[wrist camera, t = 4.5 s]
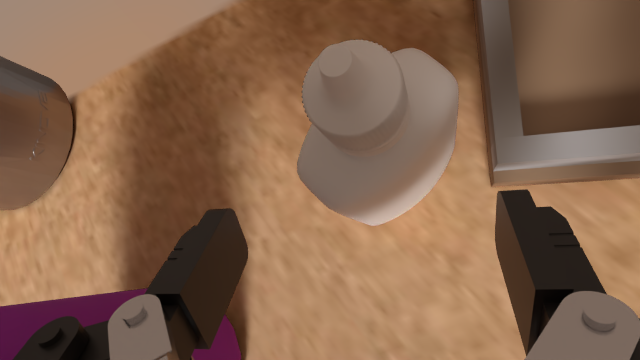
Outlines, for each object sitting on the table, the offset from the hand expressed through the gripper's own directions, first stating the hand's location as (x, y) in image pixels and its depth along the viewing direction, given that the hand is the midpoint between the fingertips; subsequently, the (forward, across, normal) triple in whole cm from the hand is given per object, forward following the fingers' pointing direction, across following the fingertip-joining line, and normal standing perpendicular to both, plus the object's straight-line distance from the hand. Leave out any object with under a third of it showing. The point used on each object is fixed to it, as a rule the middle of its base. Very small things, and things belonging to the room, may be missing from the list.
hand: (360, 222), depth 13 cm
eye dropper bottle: (+7, +1, -3) cm, 8 cm away
